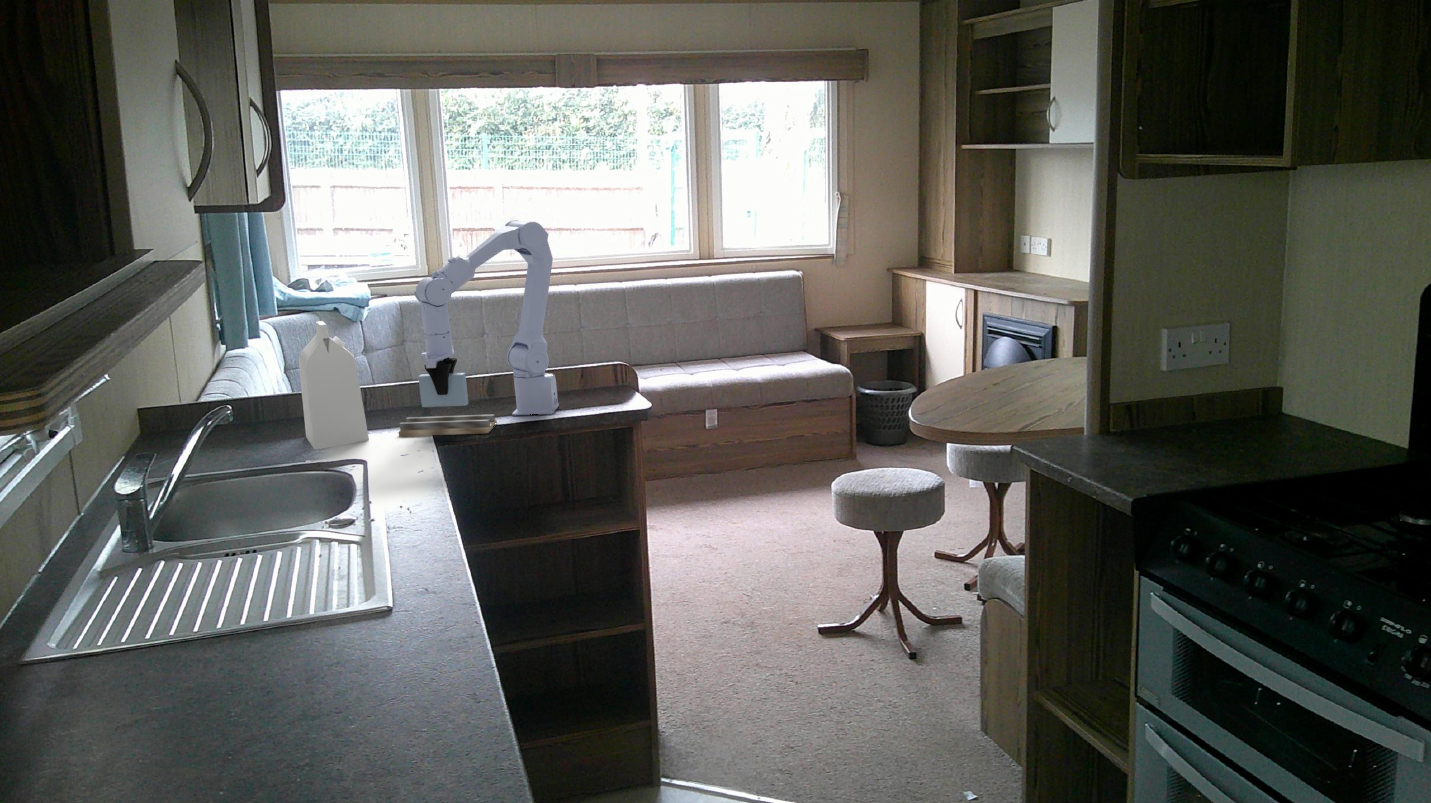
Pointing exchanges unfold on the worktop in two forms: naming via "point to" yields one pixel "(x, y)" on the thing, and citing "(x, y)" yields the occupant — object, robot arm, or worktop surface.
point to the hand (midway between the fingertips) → (444, 393)
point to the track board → (447, 425)
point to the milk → (331, 392)
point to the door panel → (453, 398)
